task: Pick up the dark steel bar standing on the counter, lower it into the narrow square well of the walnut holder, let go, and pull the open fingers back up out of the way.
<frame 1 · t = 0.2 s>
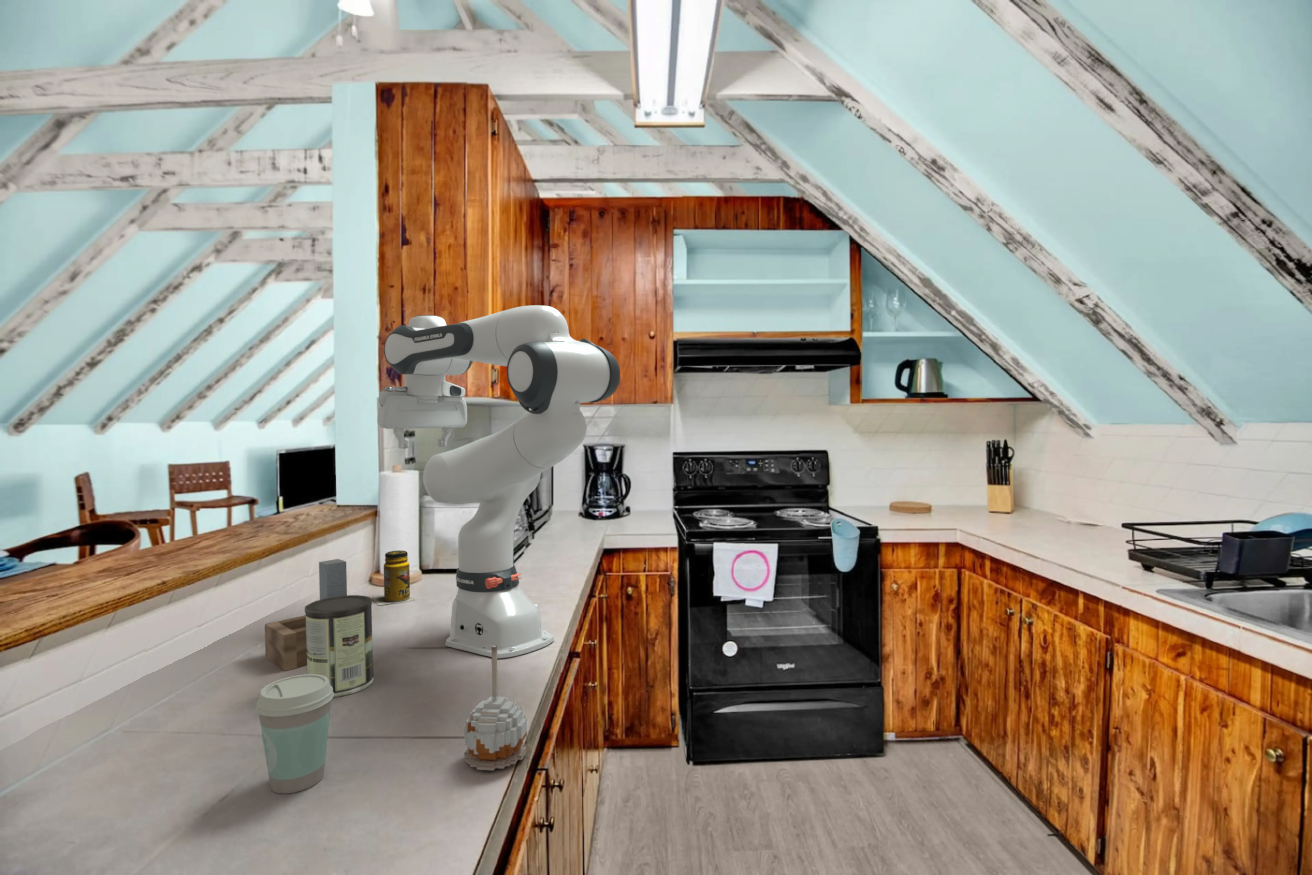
hand: (423, 447, 149), 39 cm above the counter, tool pointing down, fingers open, 8 cm apart
coffee cup: (297, 782, 81), on the counter
voxel caramel apple: (496, 759, 86), on the counter
steel bar: (334, 631, 138), on the counter
condiment: (393, 600, 162), on the counter
walnut holder: (303, 656, 123), on the counter
coffee can: (340, 686, 110), on the counter
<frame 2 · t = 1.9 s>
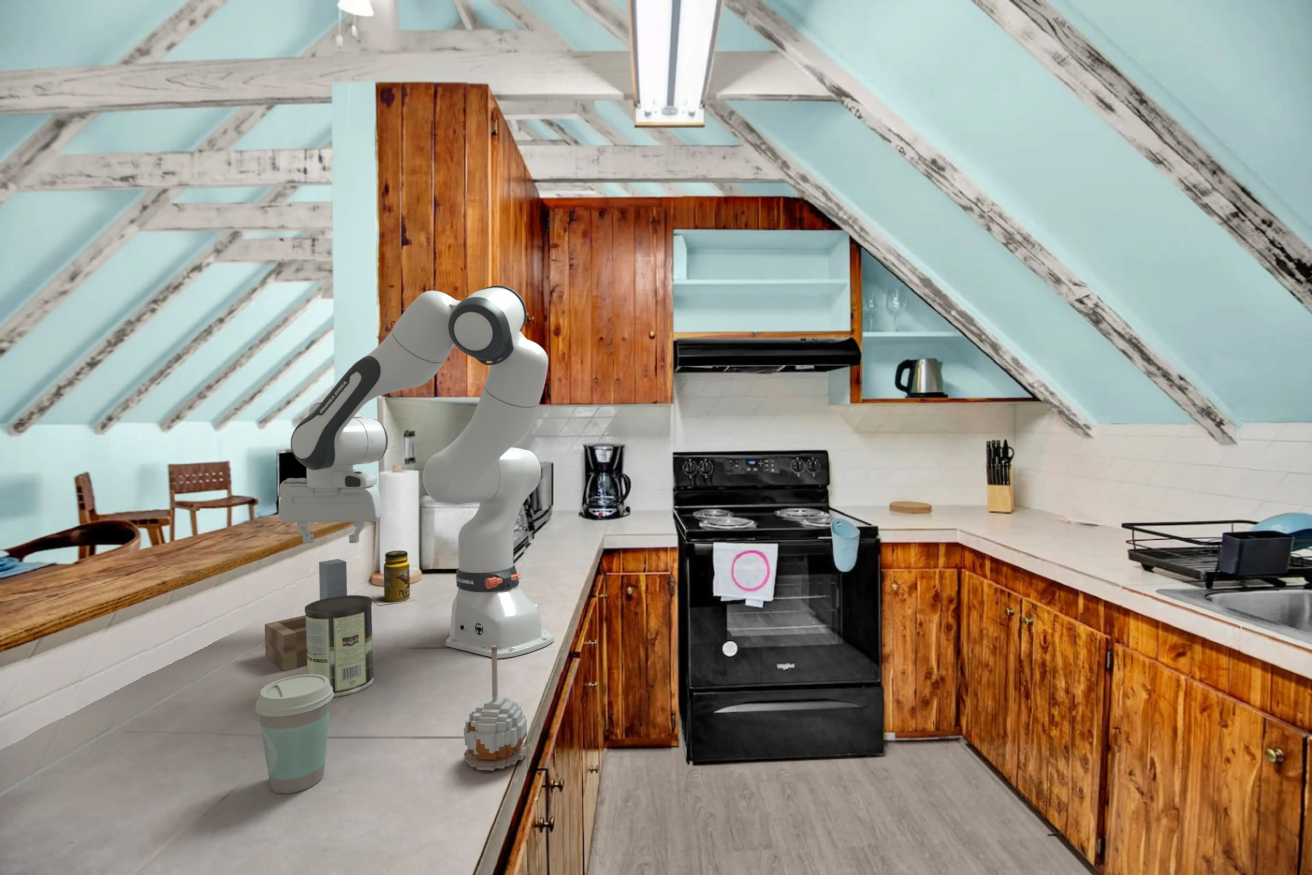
hand: (331, 542, 138), 19 cm above the counter, tool pointing down, fingers open, 8 cm apart
nothing on the counter moved.
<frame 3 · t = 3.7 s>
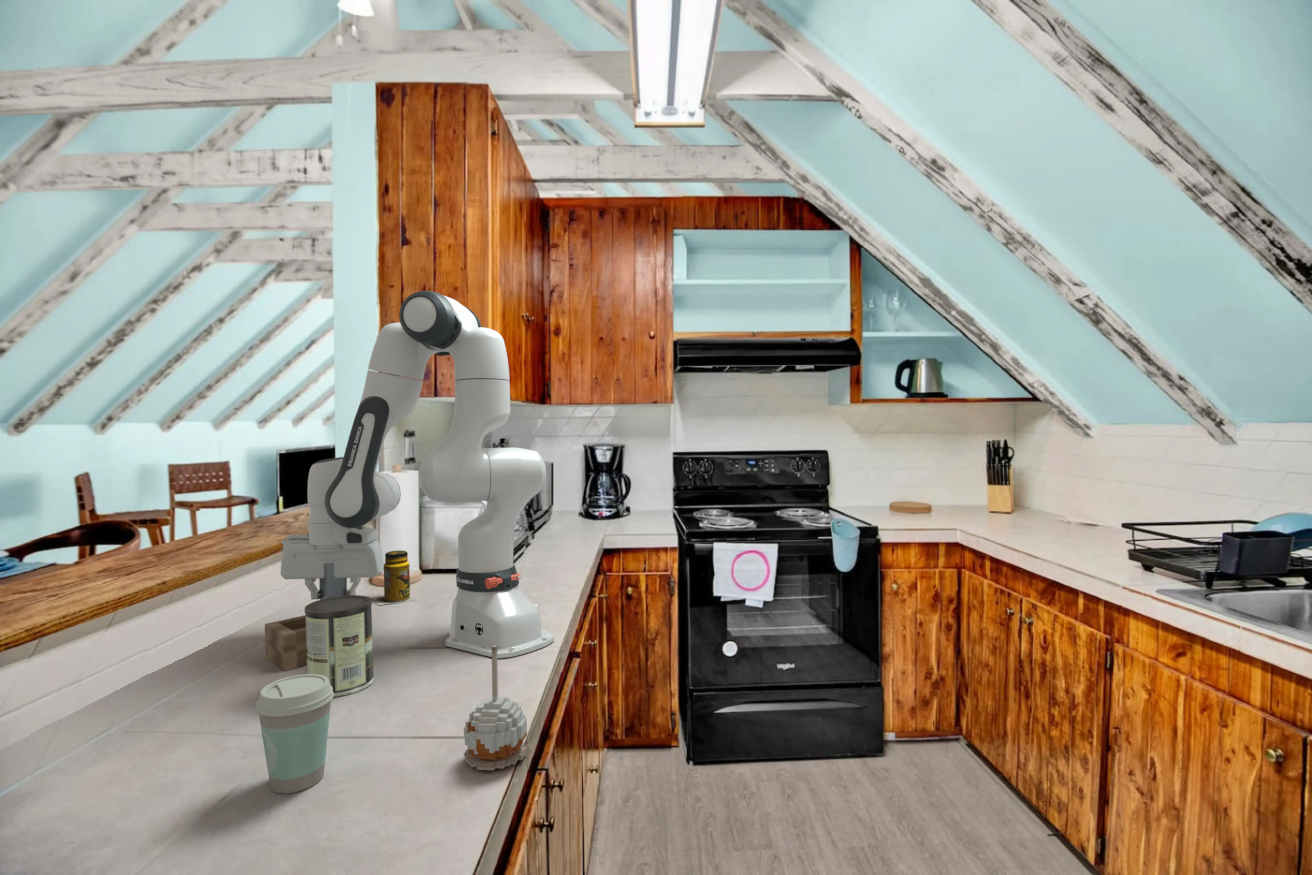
hand: (333, 598, 138), 7 cm above the counter, tool pointing down, fingers closed on steel bar, 6 cm apart
steel bar: (334, 631, 138), on the counter, touching gripper
everything else where it was.
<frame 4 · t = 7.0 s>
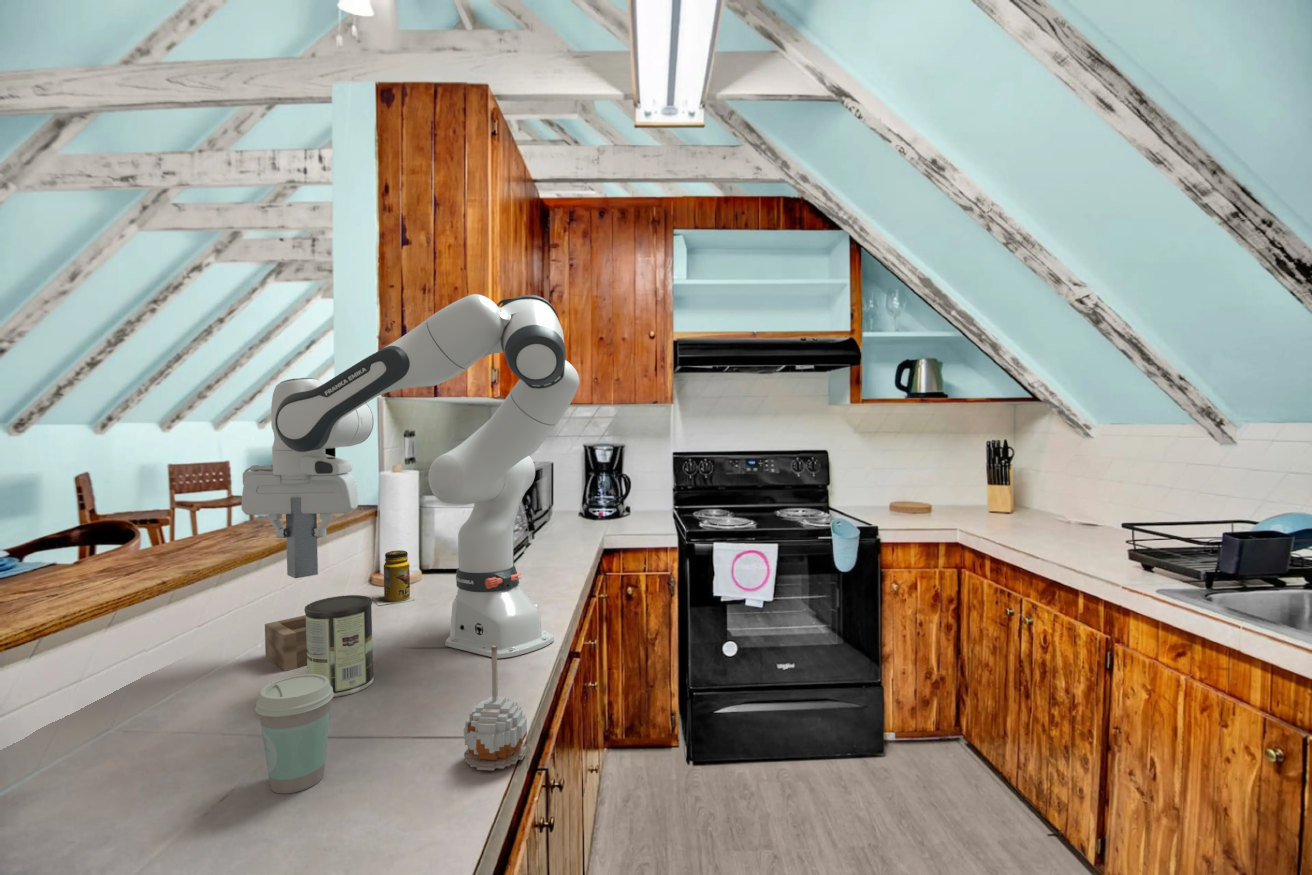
hand: (301, 537, 123), 23 cm above the counter, tool pointing down, fingers closed on steel bar, 6 cm apart
steel bar: (302, 574, 123), point 16 cm above the counter, touching gripper
everything else where it was.
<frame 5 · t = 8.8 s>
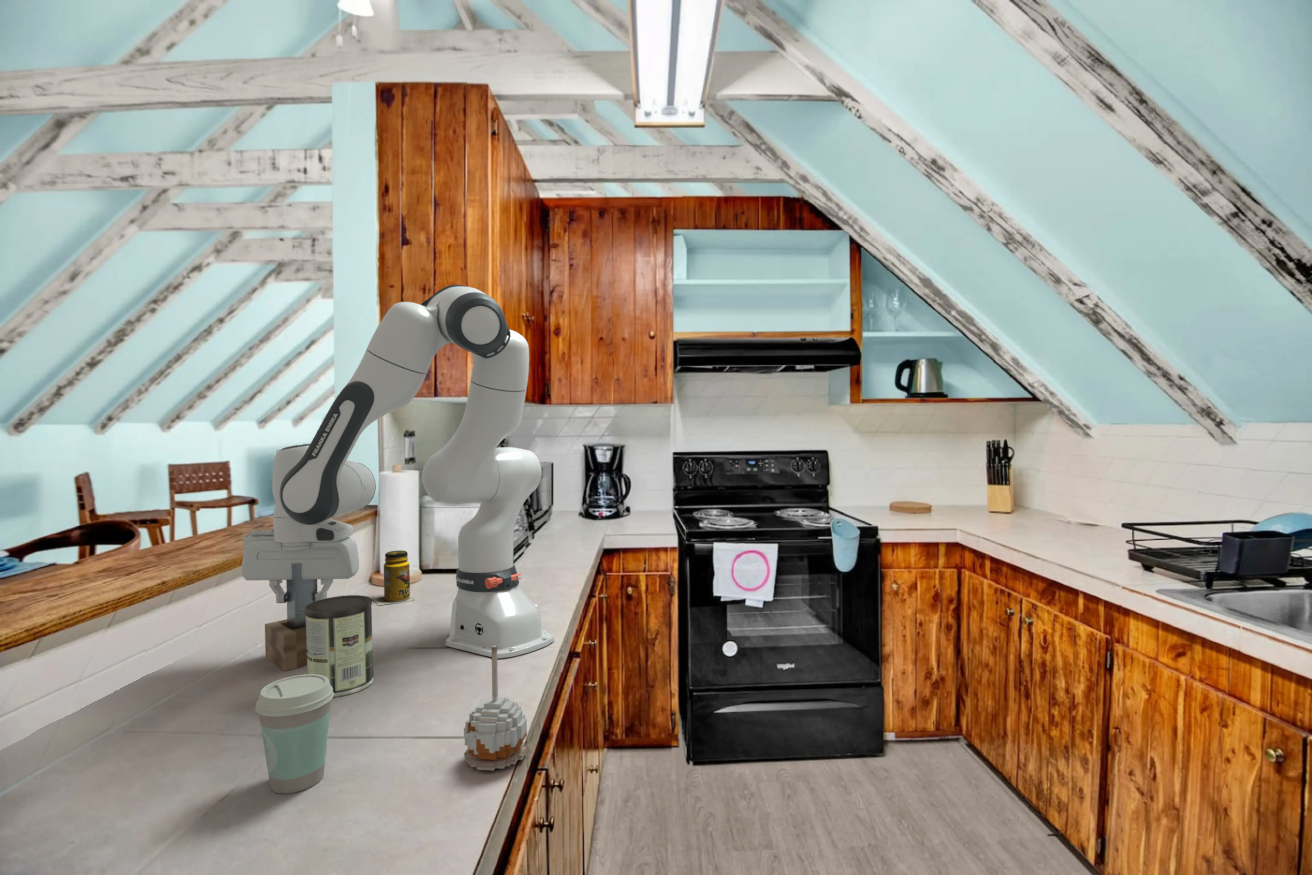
hand: (301, 602, 123), 11 cm above the counter, tool pointing down, fingers closed on steel bar, 6 cm apart
steel bar: (303, 639, 123), point 3 cm above the counter, touching gripper
everything else where it was.
when the fingers open (9 cm above the counter, at t = 10.1 s): steel bar drops 1 cm, resting in walnut holder.
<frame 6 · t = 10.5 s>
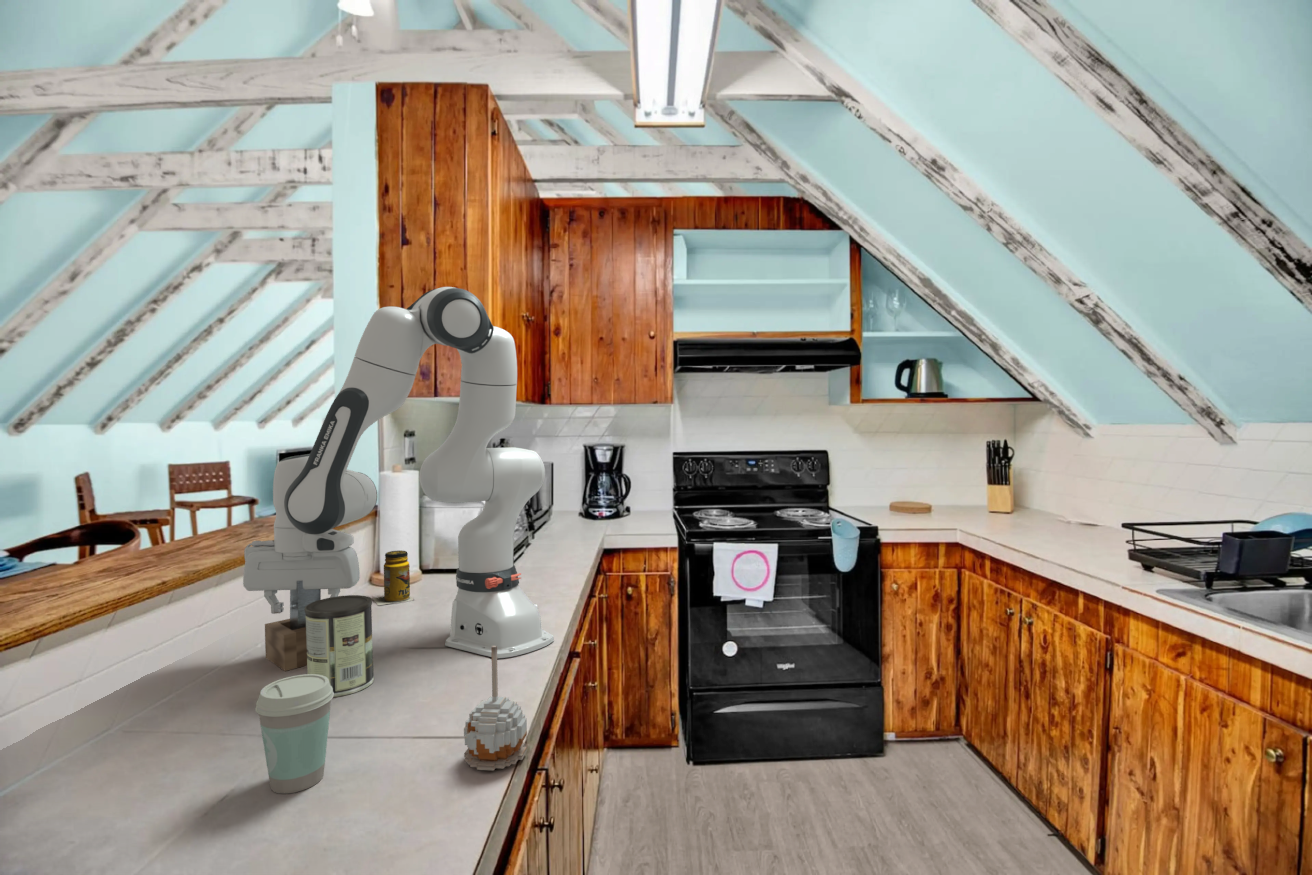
hand: (303, 612, 123), 9 cm above the counter, tool pointing down, fingers open, 8 cm apart
steel bar: (305, 656, 124), resting in walnut holder
everything else where it was.
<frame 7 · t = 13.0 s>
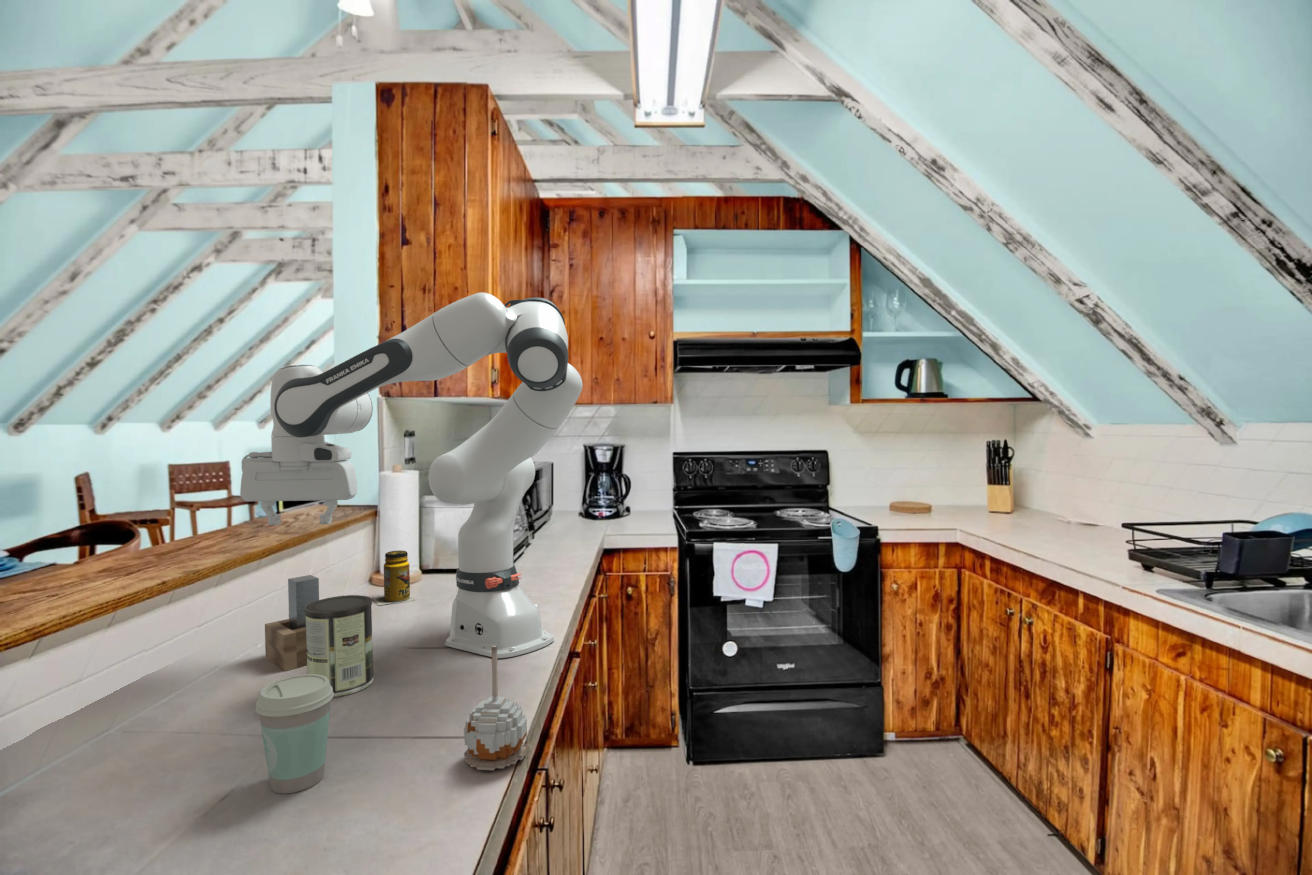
hand: (300, 524, 123), 25 cm above the counter, tool pointing down, fingers open, 8 cm apart
nothing on the counter moved.
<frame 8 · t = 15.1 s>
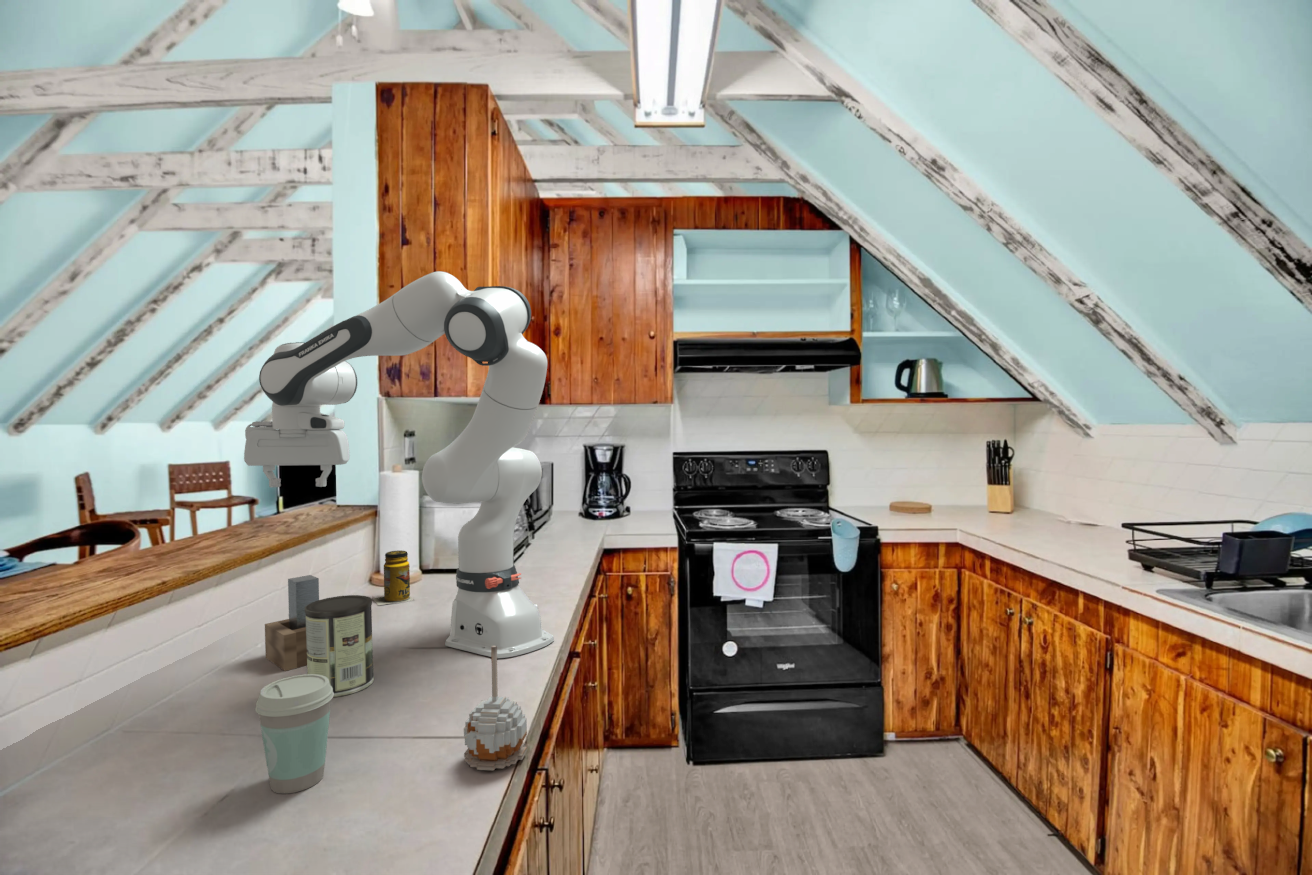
hand: (298, 486, 136), 31 cm above the counter, tool pointing down, fingers open, 8 cm apart
nothing on the counter moved.
at the end: steel bar 0.2 cm off-centre on the walnut holder, point 0.0 cm above the walnut holder's base; steel bar tilted 0°; the gripper is holding nothing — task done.
